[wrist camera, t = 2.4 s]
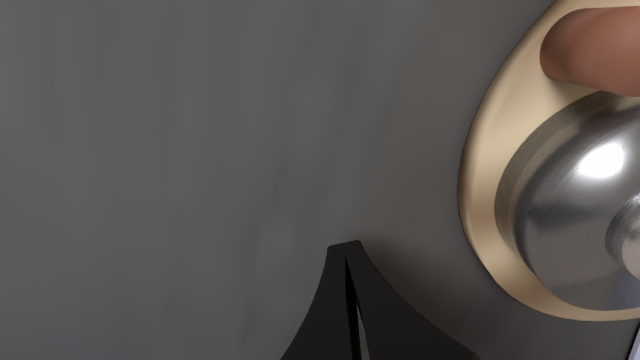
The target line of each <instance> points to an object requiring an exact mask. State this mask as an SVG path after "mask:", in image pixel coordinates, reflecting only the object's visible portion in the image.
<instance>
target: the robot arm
mask: <svg viewBox="0 0 640 360" xmlns="http://www.w3.org/2000/svg"><path fill="white" fill-rule="evenodd" d="M356 302H357V304H356ZM357 305H358V309H359V312H360V316H361V319H362V322H363V326H364V329H365V334H366V340H367V345H368V351H369V356H370V360H480V358H479V357H478V356H477V355H476V354H475V353H474V352H473V351H471V350H469V349H468V348H466V347H465V346H463V345H461V344H460V343H458V342H457V341H455V340H454V339H452V338H451V337H449V336H448V335H447V334H445V333H444V332H442V331H441V330H440V329H438V328H437V327H436V326H434V325H433V324H432V323H431V322H429V321H428V320H427V319H426V318H424V317H423V316H422V315H421V314H419V313H418V312H417V311H416V310H415V309H414V308H413V307H412V306H411V305H409V304H408V303H407V302H406V301H405V300H404V299H403V298H402V297H401V296H400V295H399V294H398V293H397V292H396V291H395V290H394V289H393V287H392V286H391V285H390V284H389V283H388V282H387V281H386V279H385V278H384V277H383V276H382V275H381V273H380V272H379V271H378V269H377V268H376V267H375V265H374V264H373V263H372V261H371V260H370V258H369V257H368V255H367V253H366V252H365V250H364V248H363V246H362V244H361V242H360V241H359V240H355V241H350V242H346V243H341V244H336V245H331V246H329V247H328V248H327V256H326V261H325V265H324V269H323V273H322V276H321V279H320V283H319V286H318V288H317V291H316V294H315V296H314V299H313V301H312V304H311V306H310V308H309V311H308V313H307V315H306V317H305V319H304V321H303V323H302V325H301V327H300V328H299V330H298V332H297V334H296V336H295V337H294V339H293V341H292V342H291V344H290V346H289V347H288V349H287V350H286V352H285V353H284V355H283V356H282V358H281V359H280V360H362V357H361V348H360V337H359V326H358V315H357ZM628 360H640V328H639V331H638V334H637V336H636V339H635V342H634V345H633V347H632V350H631V353H630V356H629V358H628Z"/></svg>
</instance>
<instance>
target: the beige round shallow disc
mask: <svg viewBox="0 0 640 360" xmlns="http://www.w3.org/2000/svg"><path fill="white" fill-rule="evenodd" d="M599 90H603V91H607V92H612V93H616V94H620V95H625V96H629V97H640V0H555V1H554V2H553V3H552V4H551V5H550V6H549V7H548V8H547V9H546V10H545V12H544V13H543V14H542V15H541V16H540V17H539V18H538V19H537V20H536V21H535V22H534V24H533V25H532V26H531V27H530V28H529V29H528V30H527V32H526V33H525V34H524V36H523V37H522V38H521V40H520V41H519V42H518V44H517V45H516V46H515V48H514V49H513V50H512V52H511V53H510V54H509V56H508V57H507V58H506V60H505V61H504V63H503V65H502V66H501V68H500V70H499V71H498V73H497V74H496V76H495V78H494V79H493V81H492V83H491V84H490V86H489V88H488V89H487V91H486V93H485V96H484V98H483V100H482V102H481V104H480V106H479V108H478V110H477V113H476V115H475V117H474V119H473V122H472V125H471V128H470V131H469V134H468V137H467V140H466V143H465V146H464V151H463V156H462V161H461V166H460V171H459V187H458V199H459V209H460V217H461V220H462V224H463V228H464V231H465V234H466V237H467V239H468V241H469V243H470V245H471V247H472V249H473V251H474V252H475V253H476V255H477V256H478V258H479V259H480V260H481V262H482V263H483V264H484V266H485V267H486V269H487V270H488V271H489V273H490V274H491V275H492V277H493V278H494V279H495V281H496V282H497V283H498V284H499V285H500V286H501V287H502V288H503V289H504V290H505V291H506V292H507V293H508V294H509V295H511V296H512V297H514V298H515V299H517V300H518V301H520V302H521V303H523V304H524V305H527V306H529V307H531V308H533V309H536V310H538V311H540V312H543V313H546V314H550V315H553V316H557V317H561V318H568V319H574V320H585V321H613V320H626V319H633V318H640V307H638V308H633V309H625V310H615V311H598V310H589V309H583V308H579V307H576V306H572V305H570V304H568V303H565V302H563V301H561V300H560V299H558V298H557V297H556V296H554V295H553V294H552V293H551V292H550V291H549V290H548V289H547V288H546V287H545V286H544V285H543V284H542V282H541V281H540V280H539V279H538V278H537V277H536V276H535V275H534V274H533V272H532V271H531V270H530V269H529V268H528V267H527V266H526V265H525V264H524V262H523V261H522V260H521V259H520V258H519V257H518V256H517V255H516V254H515V253H514V251H513V250H512V249H511V248H510V247H509V246H508V245H507V244H506V243H505V241H504V240H503V238H502V237H501V235H500V233H499V231H498V228H497V226H496V221H495V217H494V203H495V195H496V191H497V187H498V184H499V181H500V179H501V176H502V174H503V171H504V170H505V168H506V166H507V164H508V162H509V161H510V159H511V158H512V156H513V155H514V153H515V152H516V151H517V149H518V148H519V146H520V145H521V144H522V143H523V142H524V141H525V140H526V138H527V137H528V136H529V135H530V134H531V133H532V132H533V131H534V130H535V129H536V128H537V127H538V126H540V125H541V124H542V123H543V122H544V121H546V120H547V119H548V118H549V117H551V116H552V115H553V114H555V113H556V112H558V111H559V110H561V109H562V108H564V107H565V106H567V105H569V104H570V103H572V102H574V101H576V100H578V99H580V98H582V97H584V96H586V95H589V94H591V93H594V92H596V91H599Z"/></svg>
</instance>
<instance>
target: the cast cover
mask: <svg viewBox="0 0 640 360" xmlns="http://www.w3.org/2000/svg"><path fill="white" fill-rule="evenodd" d="M494 217H495V221H496V226H497V228H498V231H499V233H500V235H501V237H502V238H503V240H504V241H505V243H506V244H507V245H508V246H509V247H510V248H511V249H512V250H513V251H514V253H515V254H516V255H517V256H518V257H519V258H520V259H521V260H522V261H523V262H524V264H525V265H526V266H527V267H528V268H529V269H530V270H531V271H532V272H533V274H534V275H535V276H536V277H537V278H538V279H539V280H540V281H541V282H542V284H543V285H544V286H545V287H546V288H547V289H548V290H549V291H550V292H551V293H552V294H553V295H554V296H556V297H557V298H558V299H560V300H561V301H563V302H565V303H568V304H570V305H572V306H576V307H579V308H583V309H589V310H598V311H615V310H625V309H633V308H638V307H640V97H629V96H625V95H620V94H616V93H612V92H607V91H603V90H599V91H596V92H594V93H591V94H589V95H586V96H584V97H582V98H580V99H578V100H576V101H574V102H572V103H570V104H569V105H567V106H565V107H564V108H562V109H561V110H559V111H558V112H556V113H555V114H553V115H552V116H551V117H549V118H548V119H547V120H546V121H544V122H543V123H542V124H541V125H540V126H538V127H537V128H536V129H535V130H534V131H533V132H532V133H531V134H530V135H529V136H528V137H527V138H526V140H525V141H524V142H523V143H522V144H521V145H520V146H519V148H518V149H517V151H516V152H515V153H514V155H513V156H512V158H511V159H510V161H509V162H508V164H507V166H506V168H505V170H504V171H503V174H502V176H501V179H500V181H499V184H498V187H497V191H496V195H495V203H494Z"/></svg>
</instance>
